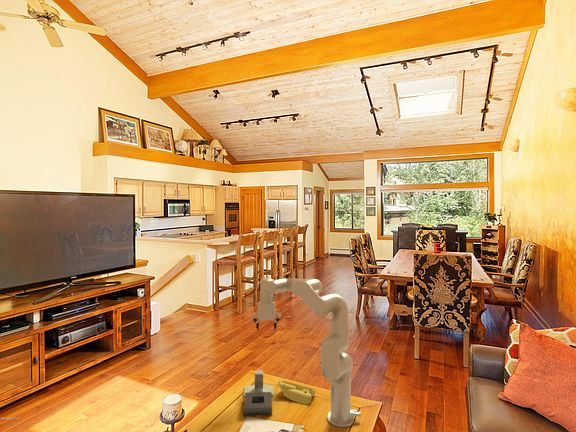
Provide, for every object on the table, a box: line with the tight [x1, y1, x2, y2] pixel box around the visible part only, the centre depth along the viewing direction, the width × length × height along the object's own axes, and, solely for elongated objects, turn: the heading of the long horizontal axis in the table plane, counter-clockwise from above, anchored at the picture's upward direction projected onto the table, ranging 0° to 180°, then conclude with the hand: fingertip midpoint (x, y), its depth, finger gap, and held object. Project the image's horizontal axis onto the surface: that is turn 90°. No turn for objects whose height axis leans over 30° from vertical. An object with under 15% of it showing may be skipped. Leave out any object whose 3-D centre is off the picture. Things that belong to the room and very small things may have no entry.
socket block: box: [242, 392, 273, 417], centre depth 168 cm, size 14×14×4 cm
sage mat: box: [243, 384, 274, 398], centre depth 183 cm, size 16×10×1 cm, turn 94°
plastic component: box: [278, 380, 317, 405], centre depth 180 cm, size 20×7×10 cm
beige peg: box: [254, 369, 264, 392], centre depth 183 cm, size 5×5×10 cm
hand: (266, 329), depth 191 cm, fingers open, 9 cm apart
